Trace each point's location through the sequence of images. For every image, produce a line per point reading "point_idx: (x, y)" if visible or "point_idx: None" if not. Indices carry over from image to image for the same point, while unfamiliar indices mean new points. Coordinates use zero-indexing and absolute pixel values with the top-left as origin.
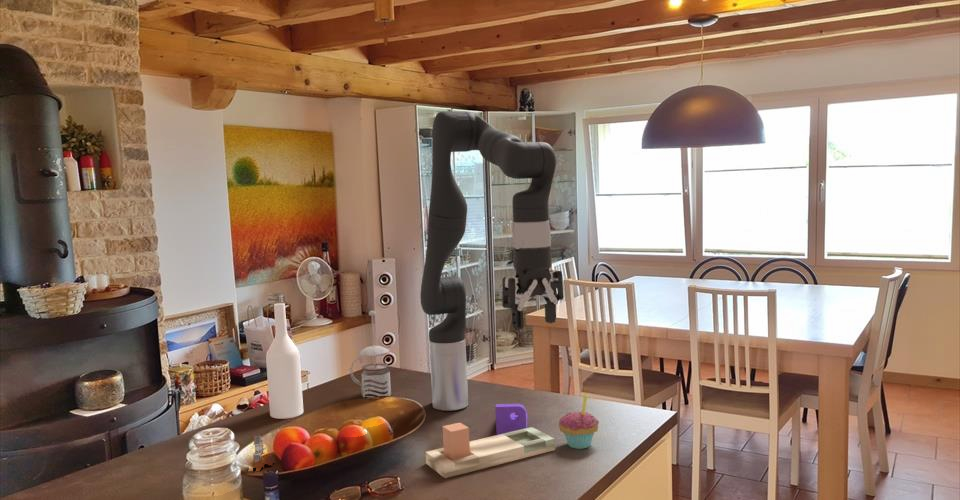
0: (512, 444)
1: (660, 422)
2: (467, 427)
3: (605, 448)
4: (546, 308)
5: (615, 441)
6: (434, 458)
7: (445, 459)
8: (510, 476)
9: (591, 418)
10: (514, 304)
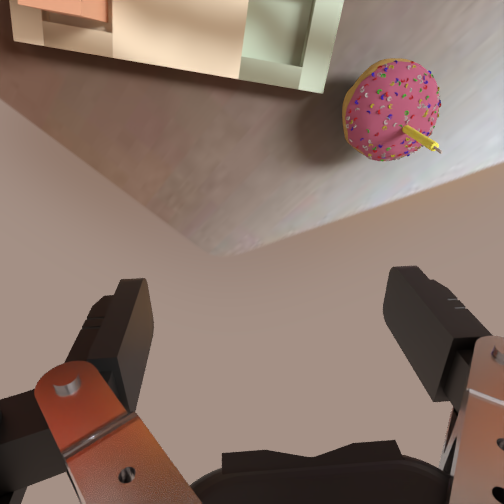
0: (224, 48)
1: None
2: (78, 9)
3: None
4: (431, 330)
5: None
6: None
7: None
8: (155, 135)
9: (406, 148)
10: (14, 497)
